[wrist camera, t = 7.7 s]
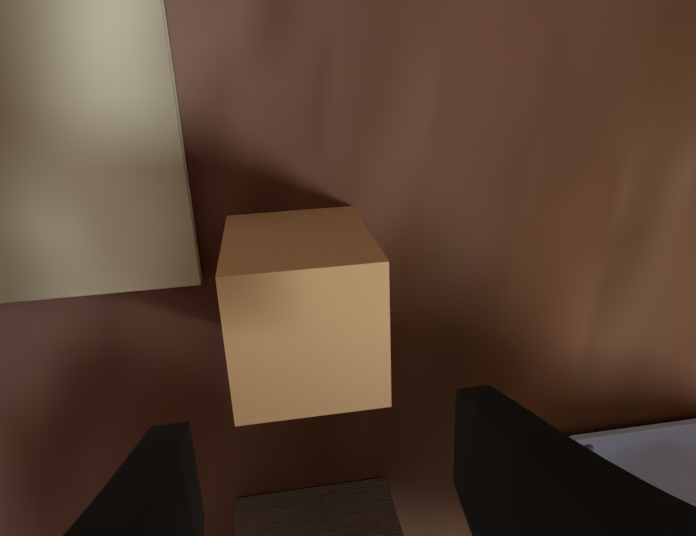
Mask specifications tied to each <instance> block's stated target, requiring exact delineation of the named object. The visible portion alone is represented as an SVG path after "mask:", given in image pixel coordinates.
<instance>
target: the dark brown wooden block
mask: <svg viewBox="0 0 696 536" xmlns="http://www.w3.org/2000/svg"><path fill="white" fill-rule="evenodd" d="M234 536H404V535H403V532H402V529H401V526H400V523H399V519H398V516H397V513H396V510H395V506H394V503H393V500H392V497H391V494H390V490H389V487H388V484H387V481H386V478H385V477H384V478H377V479H370V480H363V481H356V482H349V483H341V484H334V485H327V486H320V487H313V488H306V489H299V490H292V491H284V492H277V493H270V494H263V495H256V496H249V497H242V498H236V505H235V527H234Z"/></svg>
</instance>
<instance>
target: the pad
mask: <svg viewBox="0 0 696 536" xmlns="http://www.w3.org/2000/svg"><path fill="white" fill-rule="evenodd" d="M201 281H202V273H201V265H200V258H199V251H198V244H197V237H196V230H195V223H194V215H193V208H192V201H191V194H190V187H189V180H188V172H187V165H186V158H185V151H184V144H183V137H182V130H181V122H180V115H179V108H178V101H177V94H176V87H175V79H174V72H173V65H172V58H171V51H170V44H169V37H168V29H167V22H166V15H165V8H164V1H163V0H0V303H11V302H22V301H33V300H44V299H55V298H65V297H76V296H87V295H98V294H109V293H120V292H130V291H141V290H152V289H163V288H174V287H185V286H196V285H201Z"/></svg>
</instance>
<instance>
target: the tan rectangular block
mask: <svg viewBox="0 0 696 536" xmlns="http://www.w3.org/2000/svg"><path fill="white" fill-rule="evenodd" d="M215 279H216V287H217V294H218V302H219V310H220V317H221V325H222V332H223V340H224V347H225V355H226V362H227V370H228V378H229V385H230V393H231V400H232V408H233V415H234V423H235V426H243V425H251V424H259V423H267V422H275V421H283V420H291V419H299V418H307V417H315V416H323V415H331V414H339V413H347V412H355V411H363V410H371V409H378V408H386V407H392V404H391V345H390V287H389V261H388V259H387V258H386V256H385V255H384V253H383V252H382V250H381V249H380V247H379V246H378V244H377V243H376V241H375V240H374V238H373V237H372V235H371V234H370V232H369V231H368V229H367V228H366V226H365V225H364V223H363V222H362V220H361V219H360V217H359V216H358V214H357V213H356V211H355V210H354V208H353V207H352V206H343V207H331V208H318V209H305V210H292V211H280V212H267V213H254V214H241V215H229V216H226V221H225V227H224V232H223V238H222V243H221V249H220V254H219V260H218V265H217V271H216V276H215Z"/></svg>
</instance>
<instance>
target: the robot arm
mask: <svg viewBox="0 0 696 536" xmlns="http://www.w3.org/2000/svg"><path fill="white" fill-rule="evenodd" d="M587 444H588V445H587ZM585 445H587V446H586V447H585ZM453 481H454V484H455V487H456V490H457V493H458V496H459V499H460V502H461V505H462V508H463V511H464V513H465V516H466V519H467V522H468V524H469V527H470V530H471V533H472V535H473V536H696V418H695V419H688V420H681V421H673V422H666V423H659V424H652V425H644V426H637V427H630V428H622V429H615V430H608V431H600V432H593V433H586V434H578V435H572V436H567V435H566V434H564V433H562V432H561V431H559V430H558V429H556V428H555V427H553V426H551V425H550V424H548V423H547V422H545V421H544V420H542V419H541V418H539V417H538V416H536V415H535V414H533V413H532V412H530V411H529V410H527V409H526V408H524V407H522V406H521V405H519V404H518V403H516V402H515V401H513V400H512V399H510V398H509V397H507V396H506V395H504V394H502V393H501V392H499V391H498V390H496V389H494V388H493V387H491V386H489V385H486V386H478V387H469V388H461V389H456V411H455V443H454V475H453ZM63 536H204V511H203V505H202V499H201V493H200V487H199V481H198V475H197V468H196V462H195V456H194V450H193V444H192V438H191V432H190V426H189V422H183V423H175V424H166V425H158V426H152V427H151V428H150V429H149V430H148V431H147V433H146V434H145V435H144V436H143V438H142V439H141V440H140V441H139V443H138V444H137V445H136V447H135V448H134V449H133V450H132V452H131V453H130V454H129V456H128V457H127V458H126V460H125V461H124V462H123V463H122V465H121V466H120V467H119V469H118V470H117V471H116V472H115V474H114V475H113V476H112V478H111V479H110V480H109V481H108V483H107V484H106V485H105V486H104V488H103V489H102V490H101V491H100V492H99V494H98V495H97V496H96V497H95V498H94V500H93V501H92V502H91V503H90V505H89V506H88V507H87V508H86V509H85V511H84V512H83V513H82V514H81V515H80V517H79V518H78V519H77V520H76V521H75V523H74V524H73V525H72V526H71V527H70V528H69V529H68V530H67V532H66V533H65V534H64V535H63Z"/></svg>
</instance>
